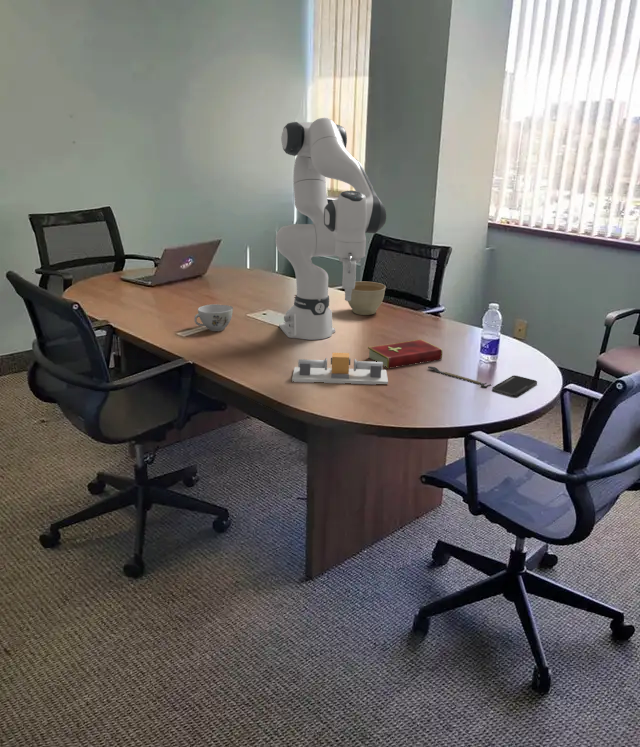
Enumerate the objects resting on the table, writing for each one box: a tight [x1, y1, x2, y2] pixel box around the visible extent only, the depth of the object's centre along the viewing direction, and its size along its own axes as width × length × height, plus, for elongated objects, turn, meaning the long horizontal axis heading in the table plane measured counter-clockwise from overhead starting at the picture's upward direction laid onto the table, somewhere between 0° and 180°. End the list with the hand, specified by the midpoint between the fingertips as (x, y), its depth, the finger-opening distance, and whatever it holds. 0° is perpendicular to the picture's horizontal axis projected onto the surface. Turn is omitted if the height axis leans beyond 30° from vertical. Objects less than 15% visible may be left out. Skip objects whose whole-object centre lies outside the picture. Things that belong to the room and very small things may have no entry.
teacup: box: [194, 303, 234, 332], centre depth 241 cm, size 15×12×8 cm
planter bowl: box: [347, 280, 386, 316], centre depth 267 cm, size 16×16×11 cm
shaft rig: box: [291, 357, 389, 385], centre depth 198 cm, size 28×10×6 cm, turn 88°
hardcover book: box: [367, 338, 443, 369], centre depth 216 cm, size 12×21×4 cm, turn 118°
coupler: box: [330, 352, 351, 374], centre depth 198 cm, size 6×4×6 cm
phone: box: [491, 374, 538, 398], centre depth 194 cm, size 8×1×15 cm
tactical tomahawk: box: [427, 366, 492, 389], centre depth 202 cm, size 21×7×1 cm, turn 46°
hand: (348, 295), depth 198 cm, fingers open, 8 cm apart
